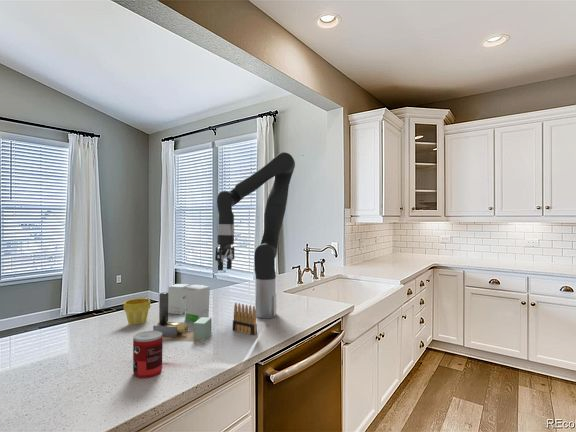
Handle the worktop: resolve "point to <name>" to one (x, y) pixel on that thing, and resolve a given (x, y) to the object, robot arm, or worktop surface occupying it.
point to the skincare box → (197, 302)
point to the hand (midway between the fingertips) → (224, 269)
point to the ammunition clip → (245, 319)
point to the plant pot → (137, 310)
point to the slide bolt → (164, 314)
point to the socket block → (202, 328)
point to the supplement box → (177, 298)
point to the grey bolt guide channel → (167, 330)
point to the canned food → (147, 354)
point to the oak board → (184, 337)
